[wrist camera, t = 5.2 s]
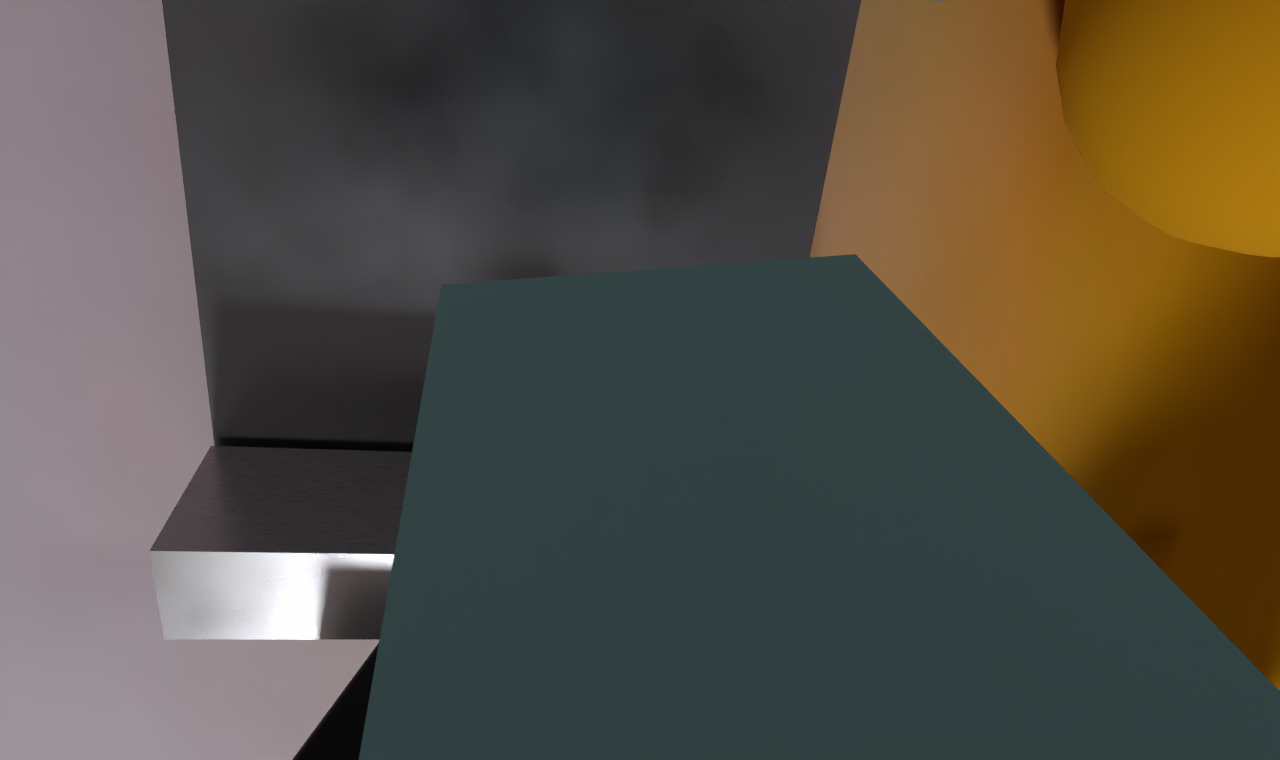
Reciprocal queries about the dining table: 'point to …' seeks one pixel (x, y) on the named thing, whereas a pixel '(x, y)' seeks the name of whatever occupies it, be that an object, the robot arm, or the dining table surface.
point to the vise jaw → (281, 544)
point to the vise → (470, 173)
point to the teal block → (765, 545)
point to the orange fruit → (1180, 113)
